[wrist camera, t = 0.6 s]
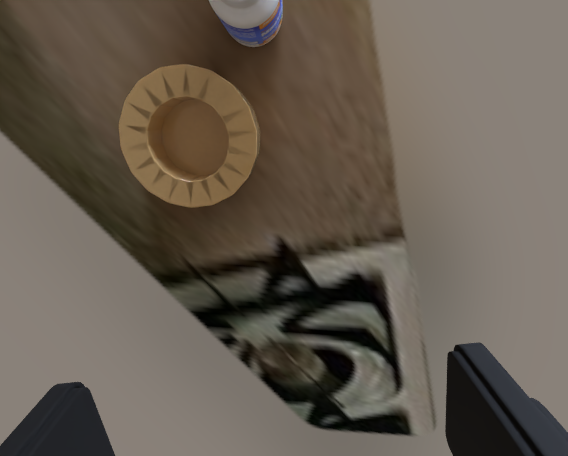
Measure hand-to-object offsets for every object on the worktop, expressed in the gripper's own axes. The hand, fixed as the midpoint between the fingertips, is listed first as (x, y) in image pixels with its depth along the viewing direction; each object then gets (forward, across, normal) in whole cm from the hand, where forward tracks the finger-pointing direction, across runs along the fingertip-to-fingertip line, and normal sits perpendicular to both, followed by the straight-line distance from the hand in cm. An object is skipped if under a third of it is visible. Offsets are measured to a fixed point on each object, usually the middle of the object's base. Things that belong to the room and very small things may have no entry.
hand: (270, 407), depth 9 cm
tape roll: (+28, +8, -6) cm, 29 cm away
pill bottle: (+28, +1, -16) cm, 32 cm away
